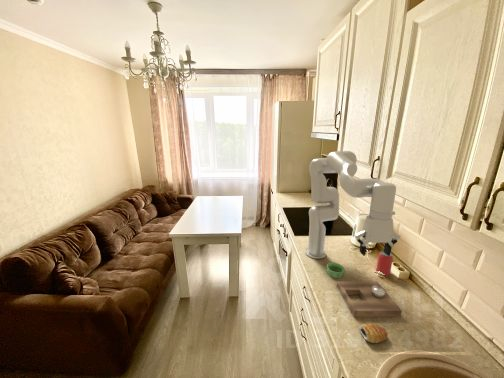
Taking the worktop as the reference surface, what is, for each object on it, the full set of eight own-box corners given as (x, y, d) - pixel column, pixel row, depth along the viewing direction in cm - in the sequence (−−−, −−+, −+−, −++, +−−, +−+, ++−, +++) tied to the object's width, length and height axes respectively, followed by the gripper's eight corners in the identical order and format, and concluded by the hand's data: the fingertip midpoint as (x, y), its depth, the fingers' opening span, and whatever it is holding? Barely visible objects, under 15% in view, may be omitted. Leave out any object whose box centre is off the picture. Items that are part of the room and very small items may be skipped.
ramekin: (326, 267, 122) (326, 261, 121) (343, 271, 119) (344, 264, 118) (325, 277, 114) (326, 270, 113) (344, 281, 111) (344, 274, 110)
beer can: (387, 270, 120) (391, 251, 117) (391, 277, 114) (395, 257, 111) (374, 268, 122) (377, 249, 119) (377, 275, 116) (381, 255, 113)
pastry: (379, 327, 85) (380, 319, 84) (392, 342, 78) (393, 334, 77) (357, 329, 84) (358, 321, 83) (368, 345, 77) (369, 336, 76)
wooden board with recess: (336, 286, 107) (337, 281, 106) (376, 286, 107) (377, 281, 107) (353, 316, 90) (354, 310, 89) (400, 316, 90) (401, 310, 89)
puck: (369, 290, 100) (369, 285, 99) (379, 290, 100) (380, 285, 99) (375, 298, 95) (376, 293, 95) (386, 298, 95) (387, 293, 95)
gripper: (396, 211, 86) (390, 249, 90) (353, 211, 87) (349, 249, 91) (409, 218, 79) (402, 259, 83) (362, 217, 80) (357, 258, 84)
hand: (374, 253), depth 87 cm, fingers open, 9 cm apart
